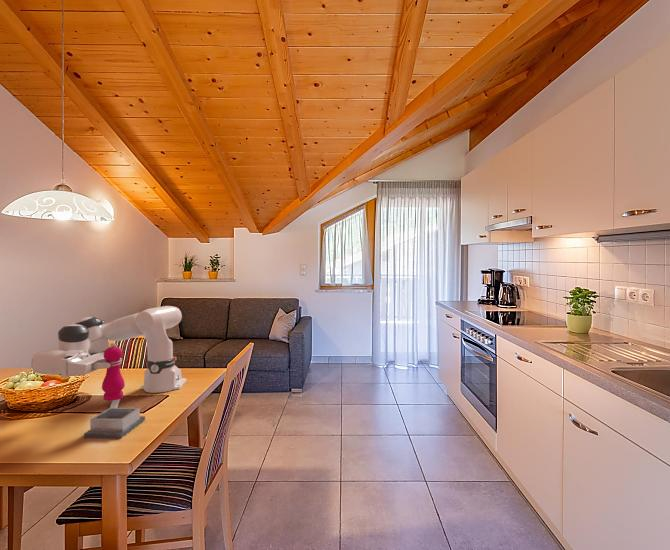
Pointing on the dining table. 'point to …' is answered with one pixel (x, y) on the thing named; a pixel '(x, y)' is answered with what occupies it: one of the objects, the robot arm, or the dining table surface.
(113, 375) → the pepper mill
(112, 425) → the socket stand
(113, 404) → the adjustable wrench
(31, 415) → the dining table surface
